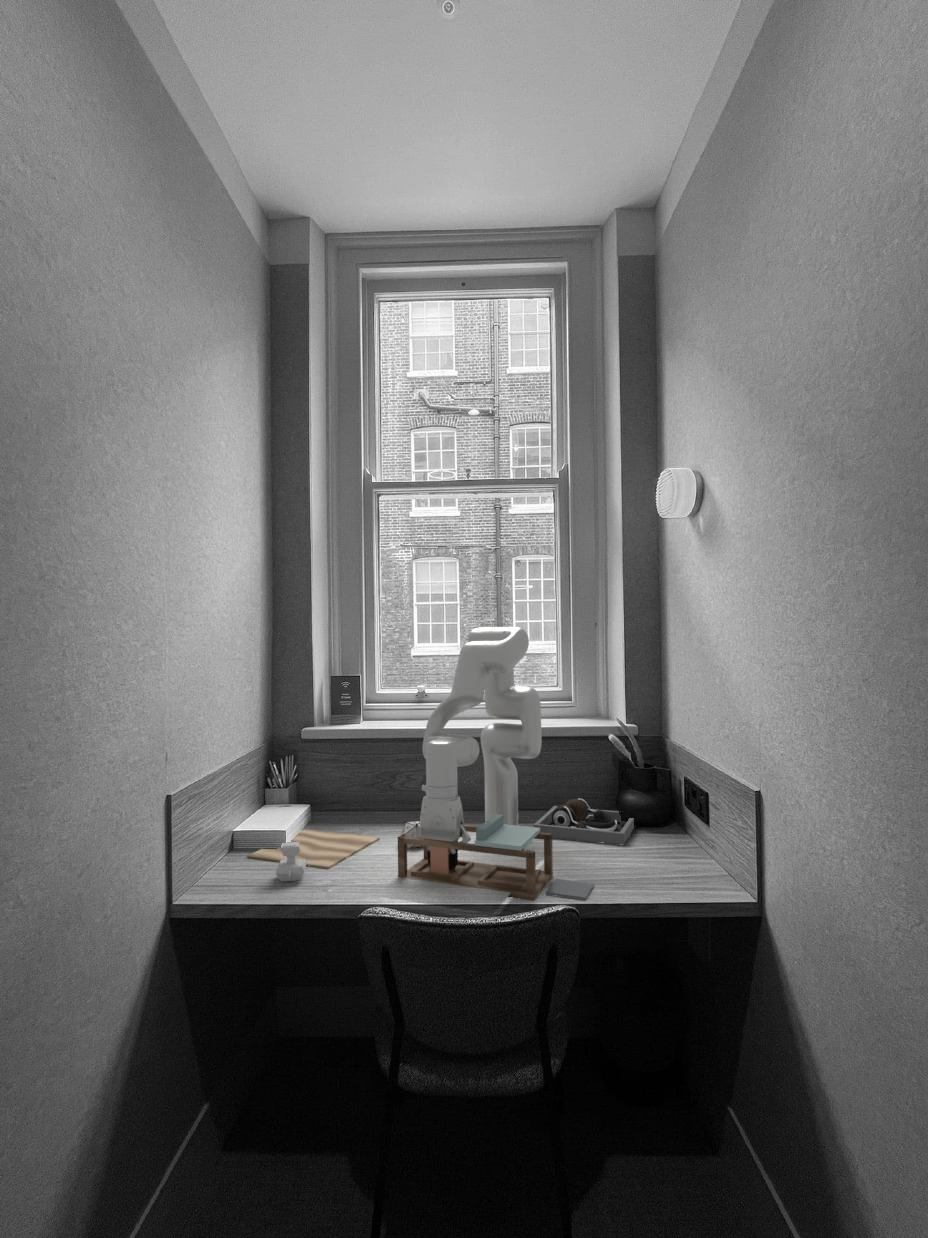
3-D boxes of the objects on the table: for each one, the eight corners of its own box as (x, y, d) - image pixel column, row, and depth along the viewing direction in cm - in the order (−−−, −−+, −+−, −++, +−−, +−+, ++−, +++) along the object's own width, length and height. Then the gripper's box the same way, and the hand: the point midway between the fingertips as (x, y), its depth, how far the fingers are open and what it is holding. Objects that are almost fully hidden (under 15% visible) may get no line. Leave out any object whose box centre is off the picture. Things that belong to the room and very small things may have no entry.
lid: (497, 827, 177) (496, 813, 177) (540, 832, 173) (540, 817, 173) (474, 845, 163) (474, 830, 163) (521, 850, 159) (520, 835, 159)
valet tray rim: (554, 816, 225) (554, 805, 225) (637, 823, 216) (636, 813, 216) (533, 836, 205) (533, 824, 205) (623, 845, 195) (623, 833, 195)
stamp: (303, 885, 169) (303, 849, 169) (274, 886, 168) (274, 850, 168) (307, 872, 178) (307, 837, 178) (279, 873, 177) (279, 839, 177)
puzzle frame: (426, 861, 184) (426, 820, 184) (552, 877, 172) (552, 833, 172) (398, 881, 170) (397, 837, 170) (533, 901, 157) (533, 853, 157)
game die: (407, 864, 193) (385, 833, 195) (428, 846, 199) (407, 816, 200) (422, 855, 187) (399, 823, 188) (443, 836, 193) (421, 806, 194)
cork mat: (305, 830, 213) (305, 829, 213) (379, 839, 203) (379, 837, 203) (247, 857, 189) (247, 855, 189) (328, 869, 179) (328, 867, 179)
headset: (572, 792, 223) (634, 810, 212) (568, 816, 223) (631, 835, 213) (548, 804, 208) (615, 824, 198) (545, 830, 209) (611, 851, 198)
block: (438, 866, 177) (438, 837, 177) (455, 868, 175) (454, 839, 175) (430, 872, 173) (430, 842, 173) (447, 874, 171) (447, 844, 171)
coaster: (555, 881, 169) (555, 878, 169) (594, 886, 166) (594, 883, 166) (545, 894, 161) (545, 892, 161) (585, 900, 157) (585, 897, 157)
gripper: (403, 792, 174) (404, 868, 174) (468, 798, 167) (469, 876, 167) (417, 785, 181) (418, 858, 181) (480, 790, 174) (481, 866, 174)
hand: (442, 866), depth 174 cm, fingers closed on block, 4 cm apart
